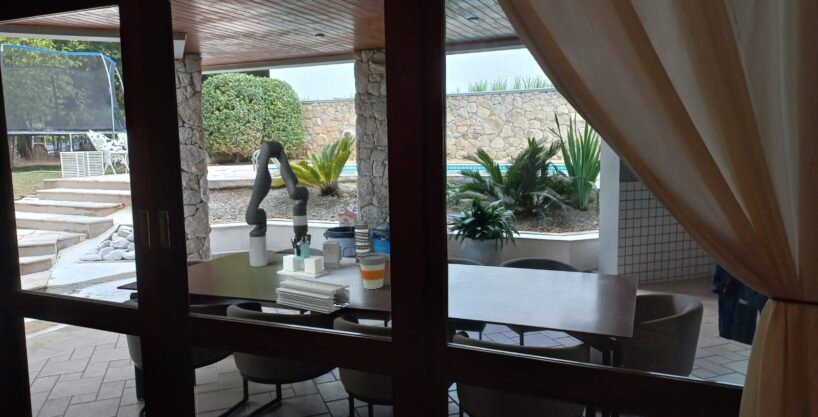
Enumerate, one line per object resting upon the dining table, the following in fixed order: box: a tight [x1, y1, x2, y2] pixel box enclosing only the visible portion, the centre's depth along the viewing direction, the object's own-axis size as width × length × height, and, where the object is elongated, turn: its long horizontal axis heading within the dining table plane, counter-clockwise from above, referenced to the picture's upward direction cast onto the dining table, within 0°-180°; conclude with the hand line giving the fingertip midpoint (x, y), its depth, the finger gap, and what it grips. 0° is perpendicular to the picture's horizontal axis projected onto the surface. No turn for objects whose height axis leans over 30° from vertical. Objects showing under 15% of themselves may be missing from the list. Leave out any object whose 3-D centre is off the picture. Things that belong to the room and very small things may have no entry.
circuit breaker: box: [322, 240, 343, 271], centre depth 317 cm, size 8×14×15 cm, turn 174°
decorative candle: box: [353, 219, 371, 266], centre depth 324 cm, size 9×9×25 cm
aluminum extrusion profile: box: [275, 276, 351, 314], centre depth 246 cm, size 14×31×10 cm, turn 56°
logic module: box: [294, 243, 311, 261], centre depth 303 cm, size 6×5×8 cm
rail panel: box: [276, 254, 330, 279], centre depth 304 cm, size 26×12×9 cm, turn 60°
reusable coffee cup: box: [359, 253, 387, 290], centre depth 271 cm, size 13×13×15 cm
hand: (302, 254), depth 303 cm, fingers closed on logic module, 5 cm apart
